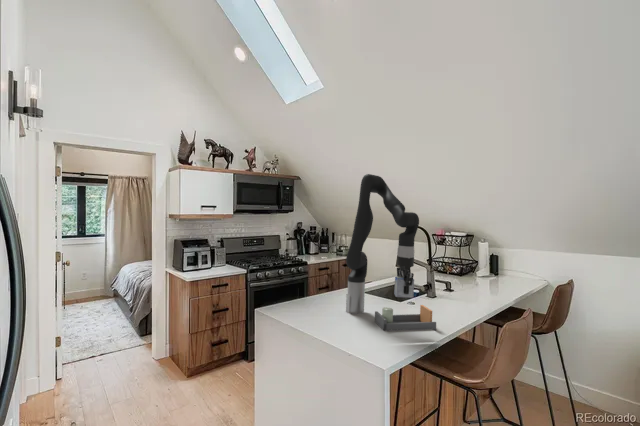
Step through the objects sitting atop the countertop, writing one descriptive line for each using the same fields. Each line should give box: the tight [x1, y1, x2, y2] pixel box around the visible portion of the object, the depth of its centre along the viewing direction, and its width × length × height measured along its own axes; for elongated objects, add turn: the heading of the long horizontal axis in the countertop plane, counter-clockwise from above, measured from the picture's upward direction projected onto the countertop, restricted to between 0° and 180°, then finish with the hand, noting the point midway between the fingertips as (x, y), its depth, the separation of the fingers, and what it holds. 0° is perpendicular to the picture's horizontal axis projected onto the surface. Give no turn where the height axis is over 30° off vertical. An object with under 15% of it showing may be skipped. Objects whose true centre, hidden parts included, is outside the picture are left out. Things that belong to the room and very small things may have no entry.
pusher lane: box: [374, 310, 437, 332], centre depth 158 cm, size 26×12×6 cm, turn 100°
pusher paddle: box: [419, 304, 433, 322], centre depth 160 cm, size 1×10×8 cm, turn 10°
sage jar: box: [381, 307, 394, 323], centre depth 157 cm, size 5×5×8 cm
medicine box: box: [393, 276, 415, 298], centre depth 150 cm, size 8×4×9 cm, turn 91°
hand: (403, 292), depth 150 cm, fingers closed on medicine box, 4 cm apart
